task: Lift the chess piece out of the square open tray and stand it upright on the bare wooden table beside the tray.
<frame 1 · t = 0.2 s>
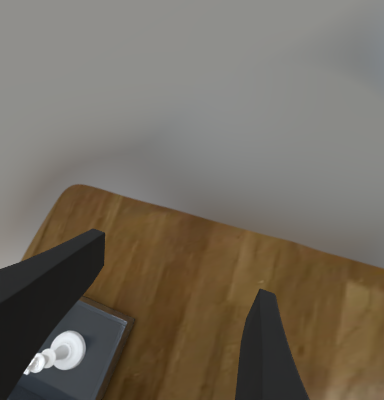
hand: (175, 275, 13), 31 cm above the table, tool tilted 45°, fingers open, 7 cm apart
chess piece: (69, 349, 41), resting on square open tray
square open tray: (69, 349, 41), on the table
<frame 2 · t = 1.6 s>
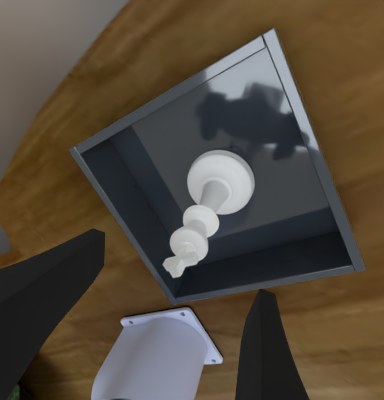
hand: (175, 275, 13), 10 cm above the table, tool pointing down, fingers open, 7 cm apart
chess piece: (221, 180, 22), resting on square open tray
stone basin: (8, 371, 51), on the table
square open tray: (221, 180, 22), on the table
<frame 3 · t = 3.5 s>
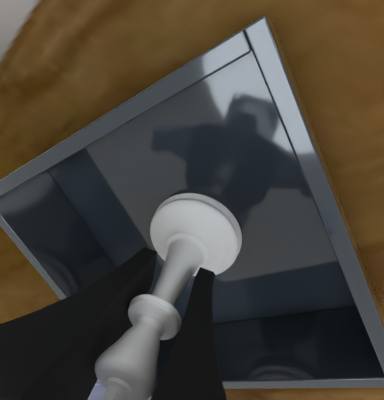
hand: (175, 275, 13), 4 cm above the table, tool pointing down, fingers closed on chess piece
chess piece: (197, 231, 16), resting on square open tray, touching gripper
square open tray: (197, 230, 16), on the table
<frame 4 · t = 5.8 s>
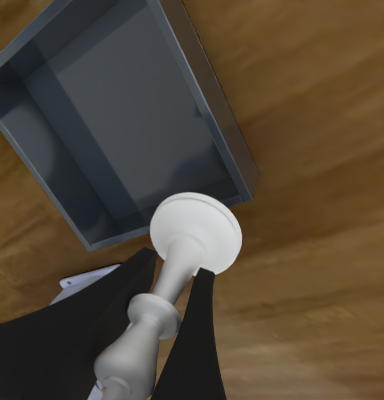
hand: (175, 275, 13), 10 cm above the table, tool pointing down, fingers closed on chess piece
chess piece: (197, 231, 16), point 7 cm above the table, touching gripper
square open tray: (132, 123, 21), on the table
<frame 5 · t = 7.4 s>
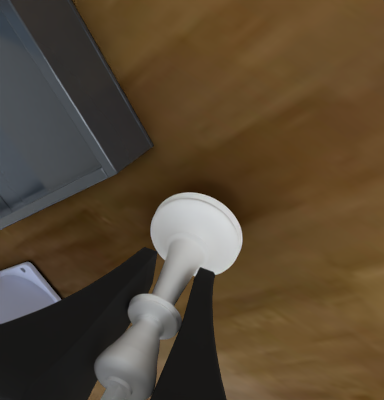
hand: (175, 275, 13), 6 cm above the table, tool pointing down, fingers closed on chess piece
chess piece: (197, 231, 16), point 2 cm above the table, touching gripper
square open tray: (3, 86, 18), on the table
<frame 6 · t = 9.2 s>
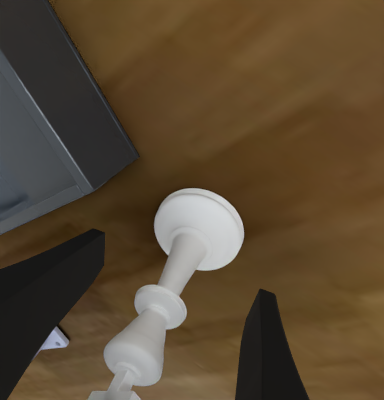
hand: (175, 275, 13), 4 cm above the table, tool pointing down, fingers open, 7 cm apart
chess piece: (200, 226, 16), on the table
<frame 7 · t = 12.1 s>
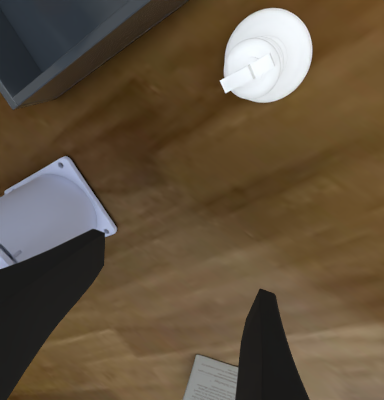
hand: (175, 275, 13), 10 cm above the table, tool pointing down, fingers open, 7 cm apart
product box: (219, 375, 33), on the table
chess piece: (267, 58, 17), on the table
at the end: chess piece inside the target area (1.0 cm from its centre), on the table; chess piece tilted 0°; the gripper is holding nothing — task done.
